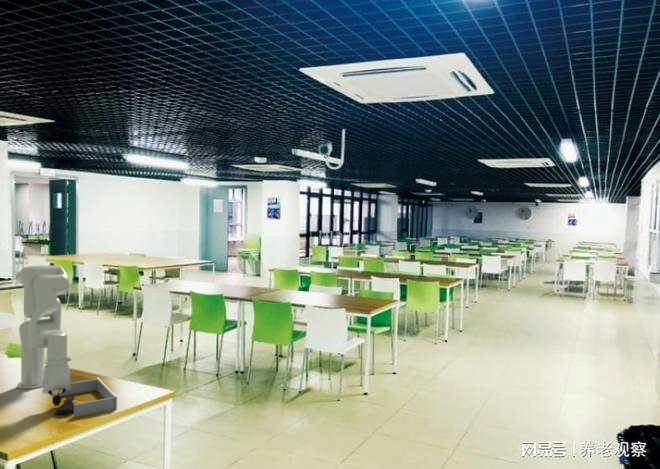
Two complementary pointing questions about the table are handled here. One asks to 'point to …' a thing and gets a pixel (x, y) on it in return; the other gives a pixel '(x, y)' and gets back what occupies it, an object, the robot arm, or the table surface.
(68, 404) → the hairbrush
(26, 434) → the table surface
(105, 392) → the box
